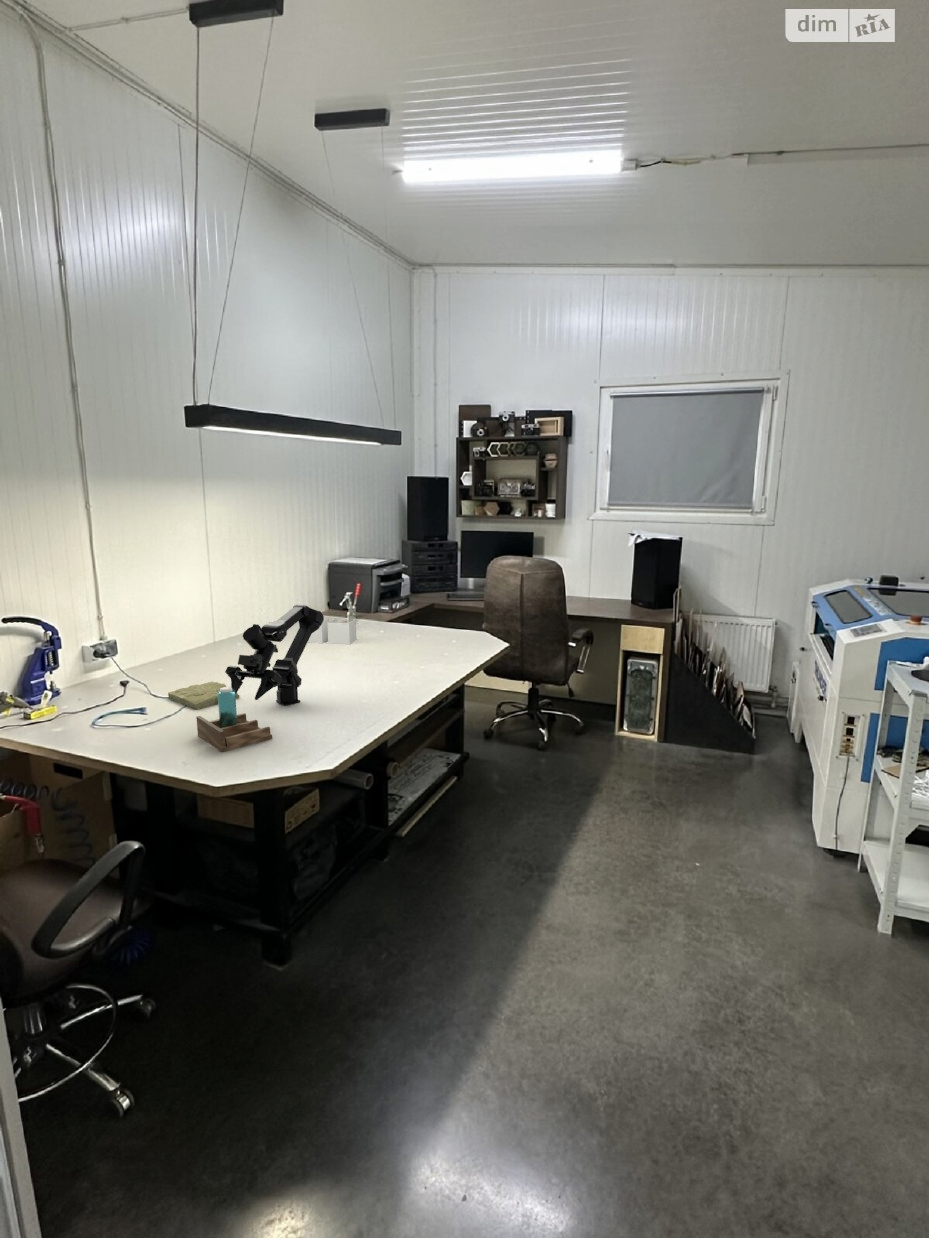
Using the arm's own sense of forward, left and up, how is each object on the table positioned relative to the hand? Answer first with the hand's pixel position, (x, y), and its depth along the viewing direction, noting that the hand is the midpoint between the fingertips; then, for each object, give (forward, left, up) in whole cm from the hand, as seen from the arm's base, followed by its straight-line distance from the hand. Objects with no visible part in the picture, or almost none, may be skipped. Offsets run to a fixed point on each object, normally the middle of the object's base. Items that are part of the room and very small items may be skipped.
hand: (243, 698), depth 218 cm
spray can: (+7, +4, -8) cm, 11 cm away
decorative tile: (-2, -37, -10) cm, 38 cm away
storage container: (-84, -86, -9) cm, 120 cm away
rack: (+7, +8, -9) cm, 14 cm away
